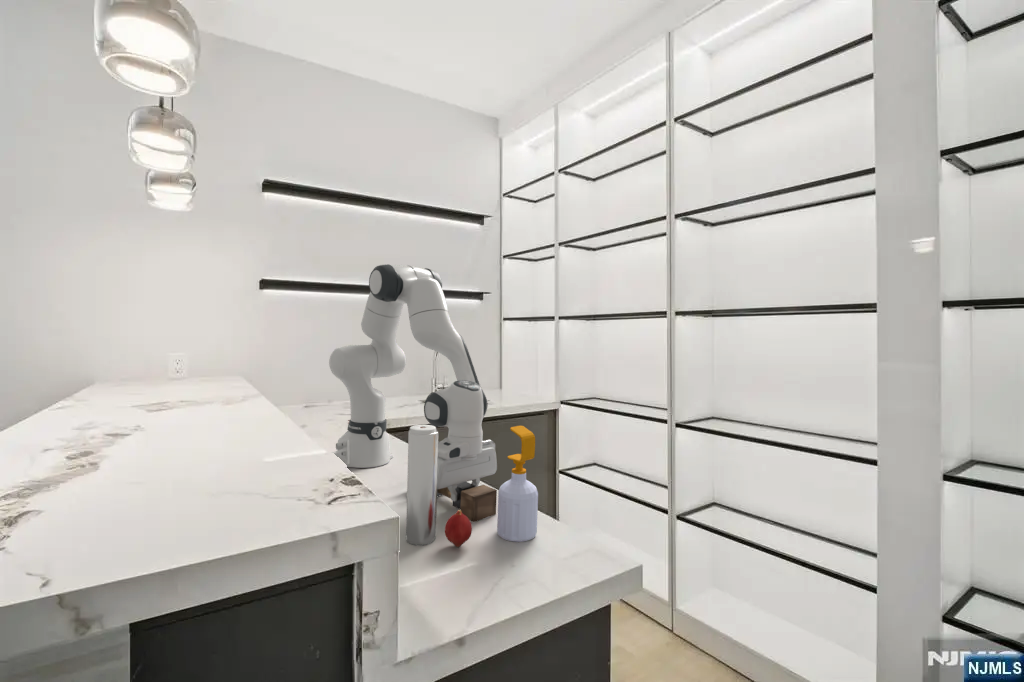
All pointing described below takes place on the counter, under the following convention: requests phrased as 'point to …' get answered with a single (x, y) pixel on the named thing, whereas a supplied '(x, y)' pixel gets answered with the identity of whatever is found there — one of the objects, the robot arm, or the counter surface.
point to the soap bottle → (518, 495)
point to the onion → (458, 529)
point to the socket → (478, 502)
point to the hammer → (459, 488)
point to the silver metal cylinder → (422, 484)
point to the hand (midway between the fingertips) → (463, 497)
